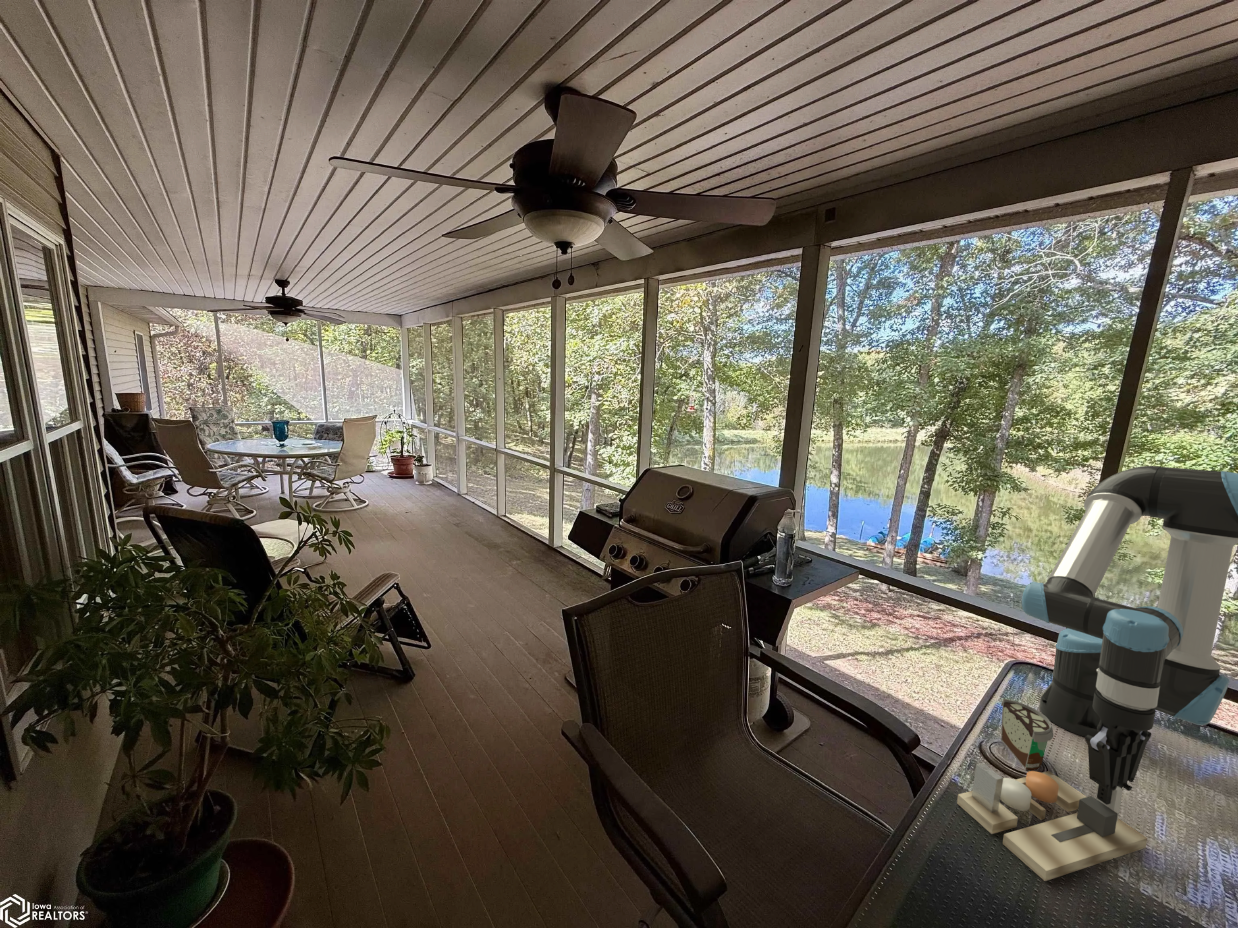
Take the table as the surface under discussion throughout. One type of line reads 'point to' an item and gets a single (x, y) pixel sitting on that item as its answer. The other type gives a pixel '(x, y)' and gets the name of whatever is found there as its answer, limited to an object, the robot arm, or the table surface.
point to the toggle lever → (987, 787)
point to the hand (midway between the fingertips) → (1105, 815)
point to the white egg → (1015, 794)
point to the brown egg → (1042, 786)
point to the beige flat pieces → (1055, 835)
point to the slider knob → (1097, 816)
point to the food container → (1025, 733)
